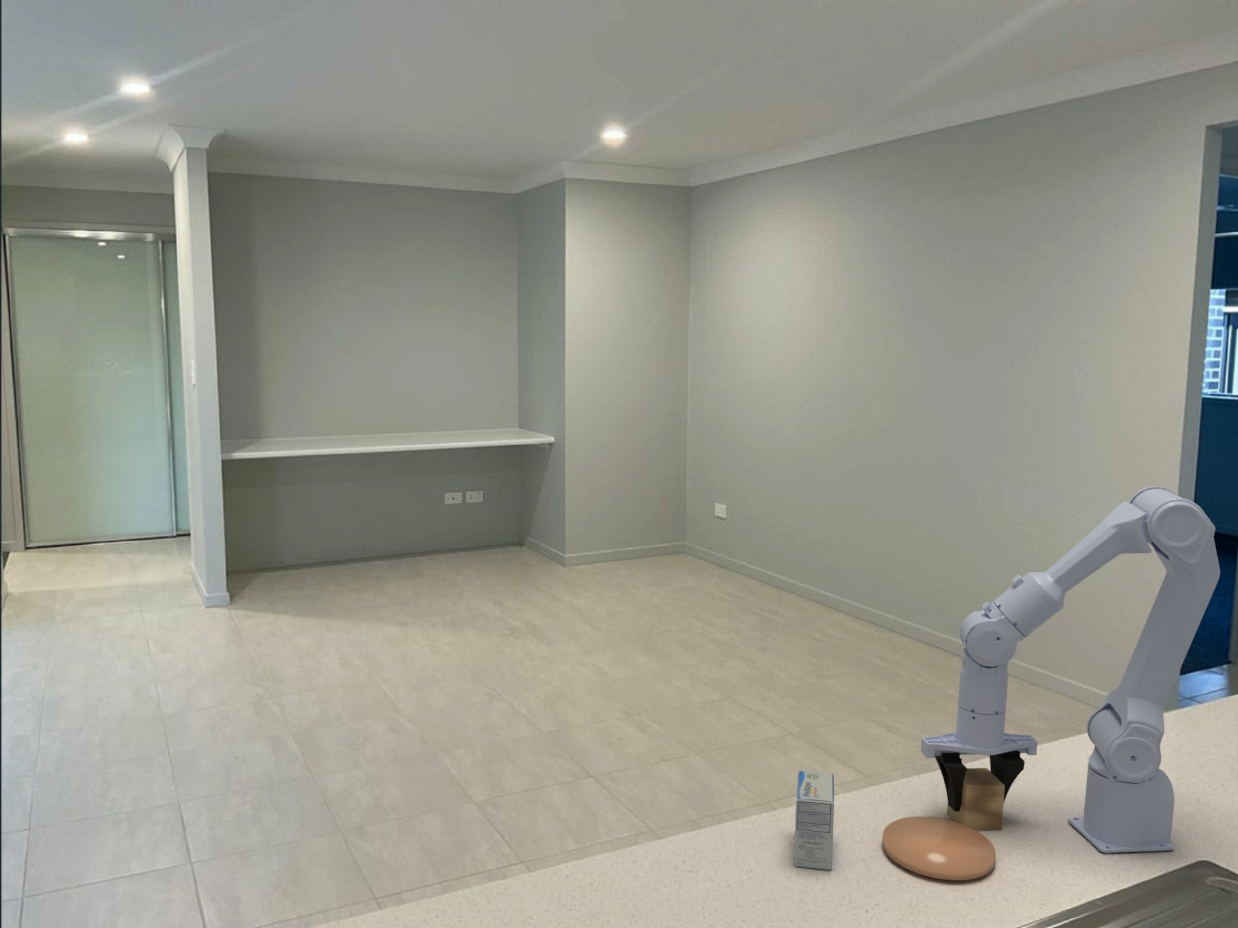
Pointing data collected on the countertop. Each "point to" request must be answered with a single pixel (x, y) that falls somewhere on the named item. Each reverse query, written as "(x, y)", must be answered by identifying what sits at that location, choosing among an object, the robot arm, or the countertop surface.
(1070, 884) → the countertop surface
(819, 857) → the medicine box
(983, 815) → the oak block
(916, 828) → the peach round disc
